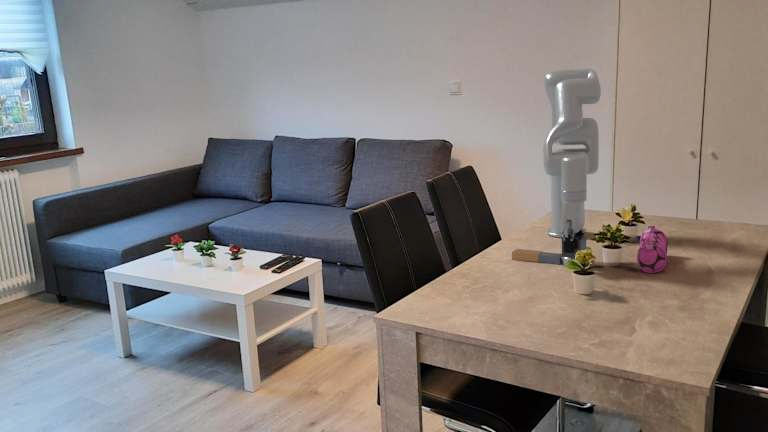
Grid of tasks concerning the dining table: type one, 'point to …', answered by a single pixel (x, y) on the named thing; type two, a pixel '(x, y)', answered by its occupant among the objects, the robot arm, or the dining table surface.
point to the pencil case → (652, 250)
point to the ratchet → (539, 256)
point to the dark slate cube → (579, 245)
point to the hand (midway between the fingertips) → (573, 248)
